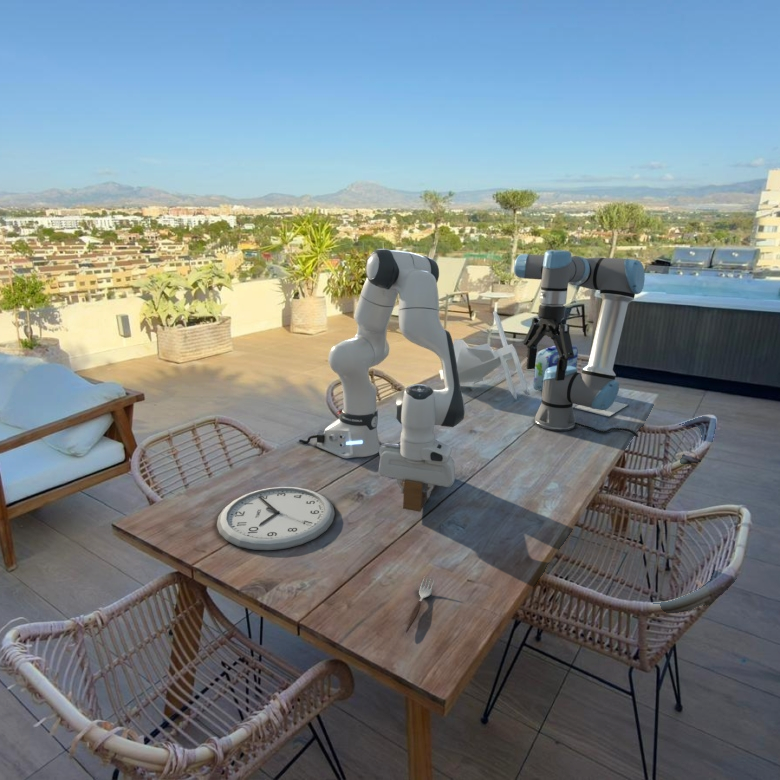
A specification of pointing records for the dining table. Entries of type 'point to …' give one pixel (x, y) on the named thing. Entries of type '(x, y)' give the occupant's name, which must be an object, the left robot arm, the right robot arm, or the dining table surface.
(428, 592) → the fork
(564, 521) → the dining table surface
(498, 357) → the white plastic object
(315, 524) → the wall clock
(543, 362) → the lunch box
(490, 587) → the dining table surface
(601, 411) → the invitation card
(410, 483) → the bar
